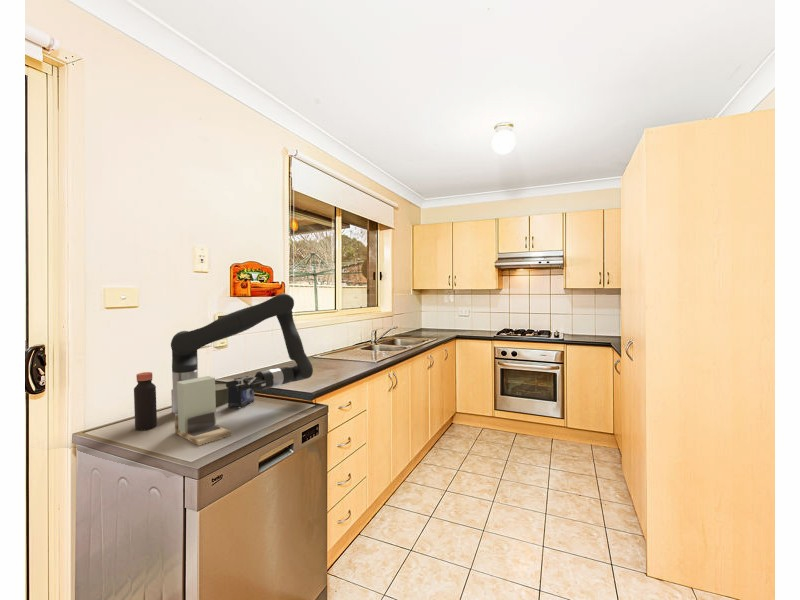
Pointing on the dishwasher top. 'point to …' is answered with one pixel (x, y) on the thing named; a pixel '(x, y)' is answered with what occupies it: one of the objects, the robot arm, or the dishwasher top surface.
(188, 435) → the rack
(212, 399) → the book
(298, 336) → the robot arm
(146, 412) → the bottle
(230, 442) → the dishwasher top surface
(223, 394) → the can
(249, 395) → the small box
